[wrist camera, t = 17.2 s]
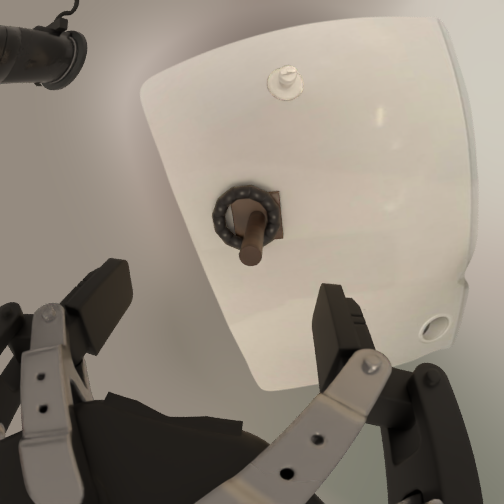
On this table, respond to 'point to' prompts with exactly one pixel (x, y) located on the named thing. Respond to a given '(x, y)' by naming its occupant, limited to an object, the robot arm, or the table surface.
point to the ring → (245, 193)
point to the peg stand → (252, 227)
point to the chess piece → (285, 83)
